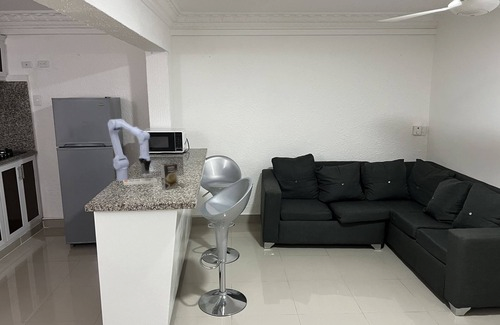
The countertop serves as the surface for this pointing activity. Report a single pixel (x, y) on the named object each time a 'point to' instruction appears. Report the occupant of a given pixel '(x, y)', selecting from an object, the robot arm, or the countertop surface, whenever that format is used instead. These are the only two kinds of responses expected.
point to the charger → (144, 169)
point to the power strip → (139, 181)
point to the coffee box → (169, 176)
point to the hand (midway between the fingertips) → (145, 169)
